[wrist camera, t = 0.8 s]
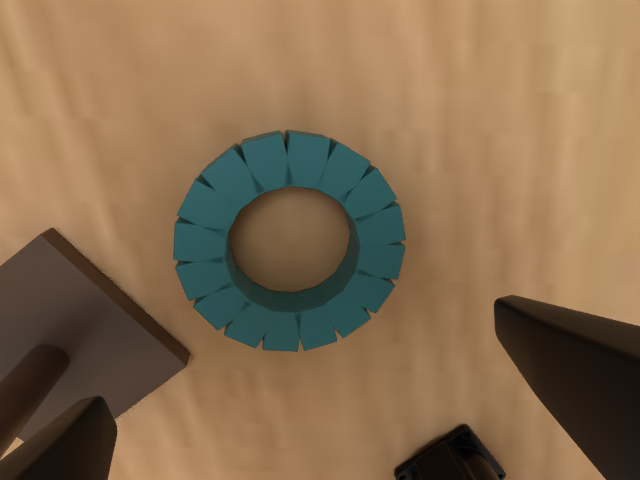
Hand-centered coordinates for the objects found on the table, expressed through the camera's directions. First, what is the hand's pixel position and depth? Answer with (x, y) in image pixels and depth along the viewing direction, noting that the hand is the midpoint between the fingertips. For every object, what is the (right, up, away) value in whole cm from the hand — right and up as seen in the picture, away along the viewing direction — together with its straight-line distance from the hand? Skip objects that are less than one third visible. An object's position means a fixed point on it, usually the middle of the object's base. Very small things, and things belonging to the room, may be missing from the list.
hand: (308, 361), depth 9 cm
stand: (-14, -3, +13) cm, 20 cm away
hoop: (-1, +3, +13) cm, 13 cm away
